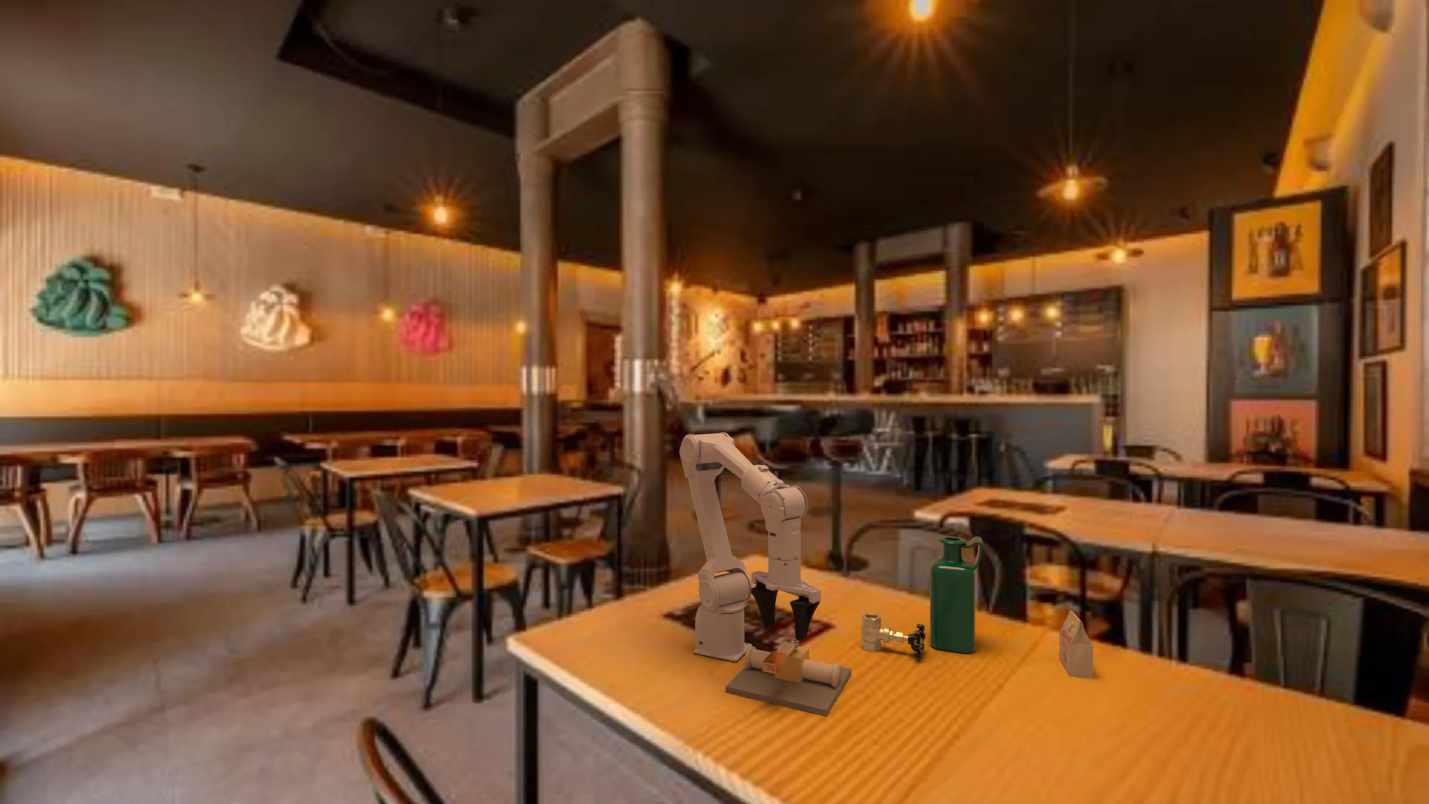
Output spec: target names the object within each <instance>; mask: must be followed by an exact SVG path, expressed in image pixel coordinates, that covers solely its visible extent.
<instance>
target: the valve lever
mask: <svg viewBox="0 0 1429 804" xmlns="http://www.w3.org/2000/svg"><path fill="white" fill-rule="evenodd" d="M799 646H800V641H798V640H796V637H795V636H787V637H785V638H784V642H783V643H782V644H780V646H779V647H778V648H777V649H776V650H772V651H771V653H770V654H769V655H768V656H767V657H766V658H765V660H764V661H763V671H764V672H768V673H773V674H777V673H778V672H779V670H780V669H781V668H782V667H783V666H784V664H785V663H786V658H787V657H788V656H789V655H790V653H791V652H792V651H795V650H796V648H798V647H799Z"/></svg>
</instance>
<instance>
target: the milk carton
mask: <svg viewBox="0 0 1429 804" xmlns="http://www.w3.org/2000/svg"><path fill="white" fill-rule="evenodd" d="M1059 662H1060V663H1061V665H1062V666H1063V668H1064V670H1065V671H1066V672H1067V674H1068V676H1069V677H1074V678H1082V679H1092V680H1093V679H1094V646H1093V644H1092V642H1091V640H1090V638H1089V636H1088V634H1087V632H1086V629H1085V628H1084V623H1083V621H1081V619H1080V618H1079V617H1078V616H1077V615H1076V614H1075V612H1074V611H1073V610H1072V609H1071V610H1070V609H1069V610H1068V613H1067V615H1066V618H1065V619H1064V621H1063V623H1062V625H1061V627H1060V629H1059Z"/></svg>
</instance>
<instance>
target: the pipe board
mask: <svg viewBox="0 0 1429 804" xmlns="http://www.w3.org/2000/svg"><path fill="white" fill-rule="evenodd" d="M771 652H772V651H771ZM771 652H770V651H766V650H760V649H757V647H755V646H753V645H752V646H749V647H748V648H747V650H746V653H745V654H744V661H743V662H744V667H743V668H742V669H741V670H740V671H739V672H738V673H737V674H736V675H735V676H734V677H733V678H732V679H731V680H730V681H729V682H728V684H726V685H725V693H727V694H732V695H736V696H741V697H745V698H749V699H752V700H758V701H762V702H764V703H770V704H773V705H778V706H782V707H785V708H791V709H795V710H799V711H803V712H808V713H812V714H815V715H820V716H823V717H824V716H825V717H827V716H828V714H829V713H830V712H831V710H832V707H834V705H835V703H836V701H837V699H838V698H839V696H840V694H841V693H842V690H843V689H844V687H845V686H846V684H847V682H848V681H849V679H850V678H851V676H852V668H849V667H844V666H842V665H841V663H838V662H834V663H833V664H831V663H827V662H826V663H825V662H822V661H815V660H811V659H810V647H805V646H800V645H799V647H798V648H796V650H795V651H792V652H791V653H790V655H789V656H788V657H787V658H786V663H785V664H784V666H783V667H782V668H781V669H780V670H779V672H778V673H777V674H773V673H768V672H764V671H763V661H764V660H765V658H766V657H767V656H768V655H769V654H770V653H771Z"/></svg>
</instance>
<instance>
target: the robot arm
mask: <svg viewBox="0 0 1429 804" xmlns="http://www.w3.org/2000/svg"><path fill="white" fill-rule="evenodd" d="M679 456H680V462H681V465H682V466H681V467H682V469H683V473H684V477H685V478H686V479H687V480H688V486H689V489H690V494H691V498H692V503H693V506H694V512H695V516H696V520H697V525H698V529H699V533H700V536H701V540H702V545H703V549H704V554H705V558H706V562H705V563H704V564H703V566H702V568H701V569H700V570H699V571H698V573H697V577H698V597H699V599H700V601H701V604H700V605H699V607H698V608H697V610H696V615H695V621H694V622H695V623H694V624H695V625H694V629H695V630H694V633H695V634H694V635H695V649H694V650H693V653H694V654H695V655H696V654H697V655H701V656H702V655H703V656H707V657H711V658H716V659H720V660H721V659H722V660H725V661H731V662H738V661H739V660H740V659H741V658H742V657H743V656H745V653H746V650H747V648H748V647H749V646H753V645H752V643H747V642H745V607H747V606H748V601H750V599H751V598H752V596H753V598H754V600H755V603H756V605H757V606H758V610H759V613H760V616H761V617H760V618H761V620H762V626H763V628H765V629H766V628H770V627H772V626H774V625H775V619H776V603H777V597H778V592H779V591H780V592H782V593H786V594H789V595H792V596H795V597H798V598H796V599H793V600H791V601H789V605H790V607H791V610H792V615H793V620H794V635H795V636H794V637H795V638H796V640H798V641H799V642H800V641H802V640H805V639H807V636H808V632H809V628H810V624H811V621H812V619H813V616H814V615H815V612H816V611H817V608H818V606H819V605H820V603H821V598H822V597H821V595H822V594H821V593H822V592H821V591H822V589H820V588H818V587H815V586H813V585H811V584H810V583H808V582H806V581H804V580H803V579H802V574H801V573H802V571H801V570H802V567H801V565H802V564H801V563H802V558H801V557H802V556H801V555H802V552H801V551H802V549H801V548H802V546H801V545H802V540H801V539H802V536H801V535H802V532H801V531H802V529H801V527H802V522H801V521H802V519H803V518H804V517H805V516H806V514H807V512H808V507H809V501H808V497H807V495H806V494H805V492H804V491H803V490H802V488H801V487H800V486H798V485H791V486H790V485H789V484H786V483H785V482H784V481H783V480H782V479H779V478H778V477H777V476H776V475H775V474H774V473H772V472H771V471H770V470H769V467H768V466H767V465H766V464H763V465H761V464H753V463H752V462H751V461H750V460H749V459H748V458H747V457H746V456H745V455H744V454H743V453H742V452H741V451H740V450H739V449H738V448H737V447H736V445H735V439H734V438H732V437H731V436H730V435H729V434H728V433H727V432H725V431H724V432H718V433H704V434H702V433H701V434H692V433H691V434H690V433H689V434H687V435H684V437H683V439H682V441H681V444H680V447H679ZM725 468H726V469H727V470H729V472H730V473H733V474H734V475H735V476H736V477H737V478H739V479H740V480H741V483H740V484H741V488H742V489H743V491H744V492H746V493H747V494H748V495H749V496H750V497H751V498H752V499H754V500H755V501H756V503H758V504H759V506H760V510H761V513H762V516H763V518H764V524H765V526H764V527H765V529H766V531H767V532H768V533H767V535H768V536H767V538H768V539H767V540H768V542H767V543H768V544H767V546H768V547H767V554H768V555H767V556H768V557H767V558H768V560H767V562H768V563H767V564H768V567H767V568H768V571H767V572H766V571H761V570H757V571H753V572H751V577H750V575H749V574H748V572H747V569H746V566H745V563H744V562H743V561H742V560H740V559H739V558H738V557H736V556H735V555H733V553H732V548H731V544H730V541H729V537H728V533H727V527H726V524H725V520H724V515H723V512H722V508H721V503H720V500H719V495H718V492H717V488H716V484H715V480H716V479H717V476H719V475H720V474H721V473H722V472H723V471H724V469H725ZM724 572H725V573H724ZM720 573H722V574H720ZM716 574H718V575H716ZM753 584H754V585H753Z"/></svg>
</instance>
